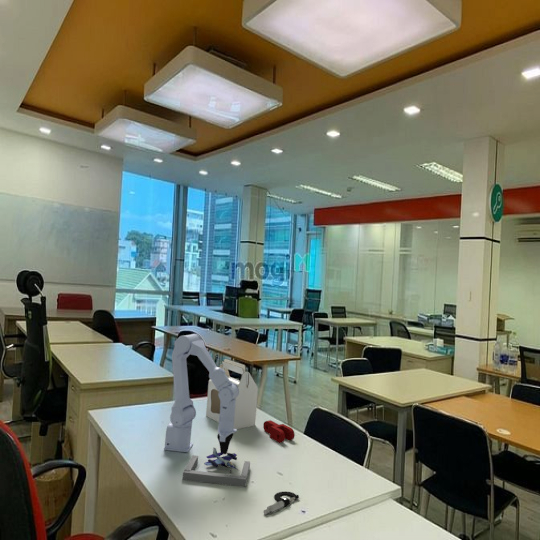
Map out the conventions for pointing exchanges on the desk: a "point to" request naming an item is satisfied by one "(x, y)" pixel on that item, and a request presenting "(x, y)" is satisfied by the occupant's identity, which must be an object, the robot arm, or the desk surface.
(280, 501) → the micrometer
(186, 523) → the desk surface
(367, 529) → the desk surface
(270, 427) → the mechanical linkage
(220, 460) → the toy airplane
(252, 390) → the gable box
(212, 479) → the cradle
